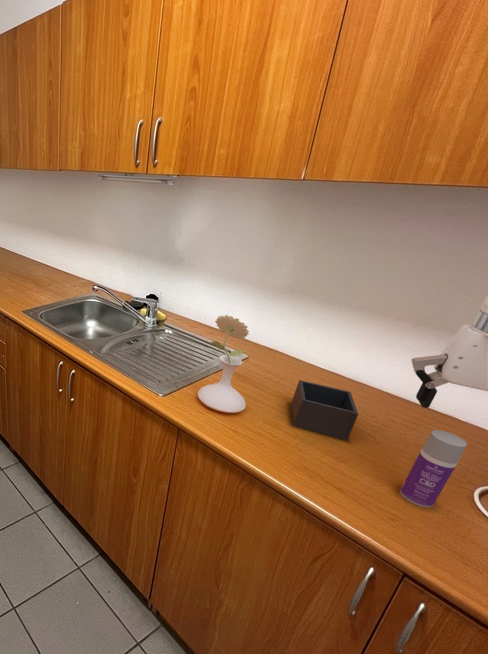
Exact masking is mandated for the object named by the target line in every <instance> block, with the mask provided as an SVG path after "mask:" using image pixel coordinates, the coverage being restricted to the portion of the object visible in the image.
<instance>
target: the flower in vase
mask: <svg viewBox="0 0 488 654" xmlns="http://www.w3.org/2000/svg"><path fill="white" fill-rule="evenodd" d="M214 322H215V324H216V327H218V329H219V331H221V332H222V333H224V334H226V335H225V338H224V341H223V344H222V343H221V342H219V341H217V340H213V341H210V342H209V344H210V345H213V346H214V347H216V348H217V349H218V350H224V351H225V355H220V357H219V358H220V361H221V364H222V373H221V378H220V380H219V382H215V383H210V384H206V385H204V386H202V387H200V388H199V390H198V392H197V396H198V399H199V401H200V402H201V403H202V404H204V406H206V407H207V408H209V409H212V410H214V411H217V412H220V413H224V414H225V413H226V414H236V413H240V412H242V411H244V410H245V409H246V407H247V404H246V400H245V398H244V397H243V396H242V395H241V394H240V392H239V391H237V390H236V389H235V388H234V387H233V386H232V378H233V375H234V373H235V371H236V369H237V368H238V367H239V366H241V365H242V364H243V360H241V358H239V357H237V356H240V355H243V354H244V353H245V352H246V350H236V349H235V350H233V351H231V352H229V353H228V350H227V347H226V342H227V339H228V337H231V338H234V339H246V337H248V335H250V330H248V325H246V324H245V323H244V322H241V321H240V318H238V317H235V318H234V317H233V316H232V315H230V316H229V314H225V315H220V316H217V318H216V320H215V321H214Z"/></svg>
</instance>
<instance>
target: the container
mask: <svg viewBox="0 0 488 654" xmlns="http://www.w3.org/2000/svg"><path fill="white" fill-rule="evenodd" d="M467 445H468V443H467V441H466V440H465V439H464V438H462V437H461V436H458V435H456V434H454V433H452V432H450V431H446V430H440V429H434V430H432V431H431V432H430V434H429V436H428V437H427V440H426V441H425V442H424V444H423V446H422V448H421V450H420V451H419V453H418V455H417V457H416V459H415V460H414V463H413V465H412V466H411V468H410V470H409V471H408V474H407V476H406V478H405V479H404V482H403V484H402V485H401V487H400V489H399V493H400V495H401V496H402V497H403V498H404V499H405V500H406V501H408V502H409V503H411V504H414V505H415V506H418V507H420V508H427V509H429V508H430V509H431V508H432V507H433V506H434V504H435V503H436V502H437V500H438V498H439V496H440V494H441V492H442V491H443V490H444V487H445V486H446V484H447V482H448V481H449V479H450V477H451V475H452V474H453V472H454V471H455V469H456V467H457V465H458V463H459V461H460V459H461V457H462V456H463V454H464V452H465V450H466V447H467Z"/></svg>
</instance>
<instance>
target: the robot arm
mask: <svg viewBox="0 0 488 654" xmlns="http://www.w3.org/2000/svg"><path fill="white" fill-rule="evenodd" d="M410 361H411V364H412V368H413V372H414V373H415V375H416V376H417V378H418V379H419V380H420V381H421V382H422V383H421V385H420V387H419V389H418V391H417V392H416V394H415V395H416V396H415V398H416V399H417V401H418V403H419V404H420V406H421V408H423V409H429V408H430V407H431V405H432V403H433V401H434V399H435V397H436V395H437V393H438V390H437V387H440V386H443V385H446V384H448V383H449V384H452V385H453V384H454V385H457V386H460V387H461V386H462V387H467V388H471V389H474V390H475V389H476V390H481V391H485V392H488V294H487V295H486V297H485V299H484V301H483V303H482V305H481V306H480V308H479V310H478V312H477V314H476V316H475V318H474V320H473V322H472V324H468V323H465V324H463V325H462V326H461V327H460V328H459V329H458V330H457V332H455V334H454V335H453V336H452V337H451V338H450V340H448V342H447V343H446V345H445V347H444V348H443V349H442V351H441V353H440V354H437V355H429V356H420V357H419V356H418V357H413V358H411V359H410ZM428 366H434V367H433V368H434V371H432V372H430V373H427V372H426V367H428Z"/></svg>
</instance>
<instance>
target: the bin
mask: <svg viewBox="0 0 488 654" xmlns="http://www.w3.org/2000/svg"><path fill="white" fill-rule="evenodd" d="M290 409H291V419H292V425H293V427H296V428H300V429H303V430H308V431H310V432H314V433H318V434H322V435H325V436H329V437H332V438H334V439H335V438H336V439H338V440H339V439H340V440H342V441H348V439H349V437H350V435H351V432H352V430H353V428H354V425H355V423H356V421H357V418H358V416H359V412H358V410H357V406H356V403H355V400H354V398H353V395H352V392H351V391H349V390H344V389H340V388H336V387H331V386H327V385H323V384H319V383H314V382H310V381H305V380H302V379H299V380H298V381H297V384H296V388H295V391H294V394H293V397H292V400H291V403H290Z"/></svg>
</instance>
